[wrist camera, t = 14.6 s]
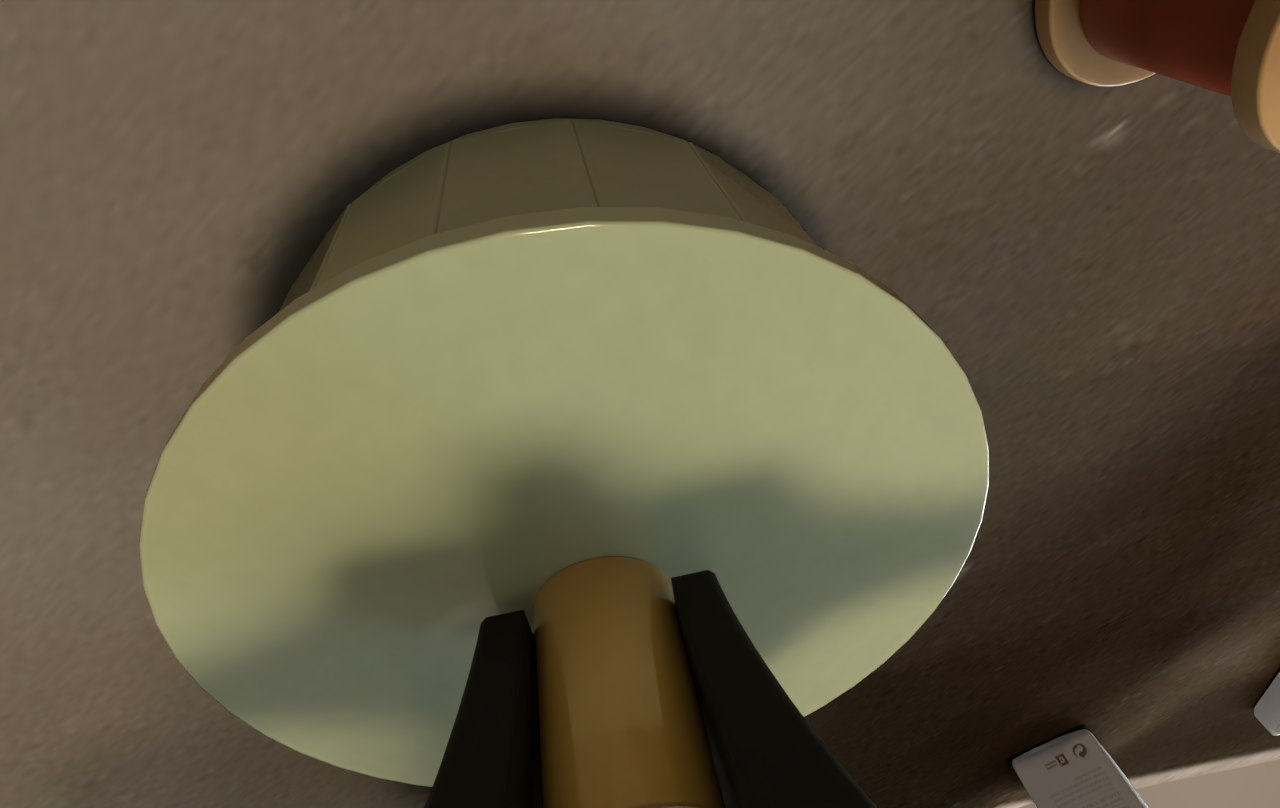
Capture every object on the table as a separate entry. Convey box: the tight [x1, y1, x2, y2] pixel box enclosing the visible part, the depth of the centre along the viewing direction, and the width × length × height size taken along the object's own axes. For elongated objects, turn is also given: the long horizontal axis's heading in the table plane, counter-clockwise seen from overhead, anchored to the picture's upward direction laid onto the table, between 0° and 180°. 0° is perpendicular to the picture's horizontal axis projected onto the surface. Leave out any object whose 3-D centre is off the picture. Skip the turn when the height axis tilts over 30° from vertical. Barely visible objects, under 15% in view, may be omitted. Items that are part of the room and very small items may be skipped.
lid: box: [139, 207, 989, 808], centre depth 11 cm, size 14×14×5 cm
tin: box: [279, 118, 819, 312], centre depth 15 cm, size 13×13×5 cm
